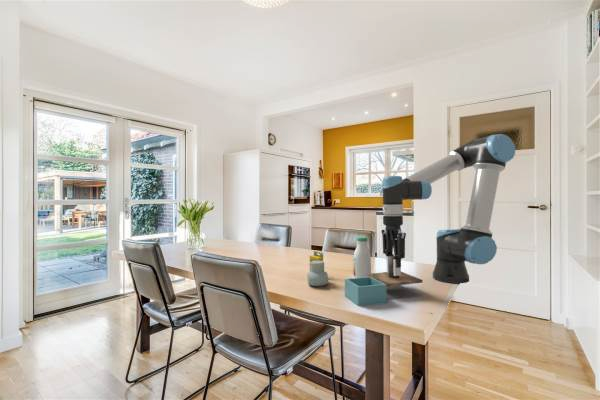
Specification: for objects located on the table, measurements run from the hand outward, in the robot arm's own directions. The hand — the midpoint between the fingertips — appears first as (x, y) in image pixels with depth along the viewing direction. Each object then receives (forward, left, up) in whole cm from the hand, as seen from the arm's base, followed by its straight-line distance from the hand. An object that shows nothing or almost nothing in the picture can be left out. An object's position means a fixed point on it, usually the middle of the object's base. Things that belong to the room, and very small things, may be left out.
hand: (393, 273), depth 119 cm
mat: (0, 0, -8) cm, 8 cm away
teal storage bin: (+15, +5, -8) cm, 18 cm away
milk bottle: (+5, -18, -8) cm, 20 cm away
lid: (0, 0, -2) cm, 2 cm away
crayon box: (+21, -32, -8) cm, 39 cm away
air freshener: (+25, -19, -8) cm, 33 cm away
